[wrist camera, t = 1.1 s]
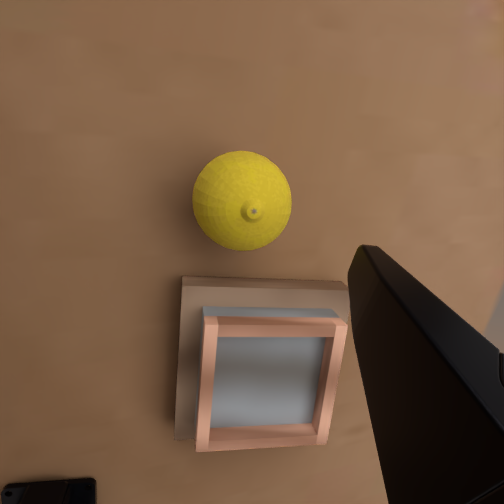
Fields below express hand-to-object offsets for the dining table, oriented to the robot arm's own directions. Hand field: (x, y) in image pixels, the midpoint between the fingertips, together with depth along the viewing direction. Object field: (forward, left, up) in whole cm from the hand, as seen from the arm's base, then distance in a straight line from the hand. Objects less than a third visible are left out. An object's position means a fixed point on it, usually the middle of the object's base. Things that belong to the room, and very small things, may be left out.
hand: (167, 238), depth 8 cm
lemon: (0, -4, -16) cm, 17 cm away
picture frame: (-12, -7, -16) cm, 21 cm away
